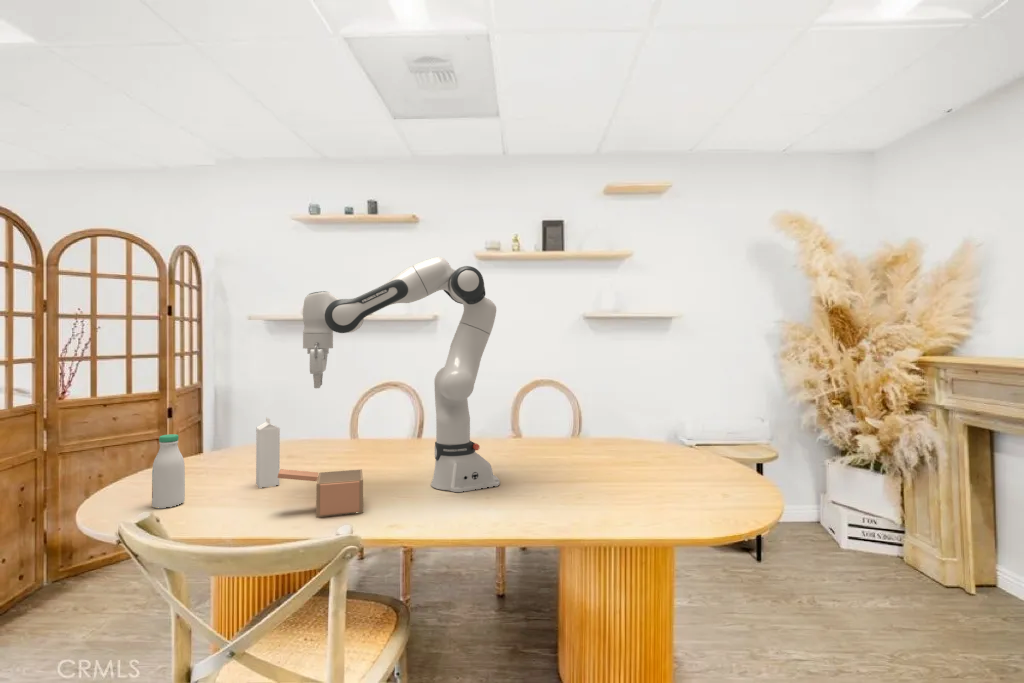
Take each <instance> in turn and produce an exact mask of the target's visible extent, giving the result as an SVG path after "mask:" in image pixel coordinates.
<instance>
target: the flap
mask: <svg viewBox="0 0 1024 683" xmlns="http://www.w3.org/2000/svg"><path fill="white" fill-rule="evenodd" d="M319 473H320V472H319V471H305V470H298V469H297V470H293V469H284V468H283V469H282V468H280V471H279V473H278V478H280V479H283V480H284V479H285V480H286V479H287V480H295V481H296V480H298V481H308V482H309V481H310V482H317V479H318V475H319Z"/></svg>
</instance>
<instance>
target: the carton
mask: <svg viewBox="0 0 1024 683" xmlns="http://www.w3.org/2000/svg"><path fill="white" fill-rule="evenodd" d="M363 476H364V475H363V469H361V468H360V469H347V470H335V471H322V472H319V473H318V478H317V481H316V486H315V490H316V491H315V492H316V496H315V497H316V498H315V500H316V501H315V506H316V508H315V510H316V513H315V514H316V516H315V517H316V518H324V517H325V518H326V517H332V516H333V517H334V516H335V517H336V516H343V515H342V514H345V515H349V514H348V513H355V514H357V513H356V512H363V513H364V477H363Z"/></svg>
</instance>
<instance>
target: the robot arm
mask: <svg viewBox="0 0 1024 683" xmlns="http://www.w3.org/2000/svg"><path fill="white" fill-rule="evenodd" d="M438 291H443V292H444V293H446V295H447V296H449V298H450V299H451V300H452V301H454V302H455V303H456V304H460V305H463V312H462V315H461V318H460V320H459V323H458V326H457V328H456V330H455V333H454V335H453V338H452V341H451V343H450V346H449V351H448V355H447V357H446V360H445V364H444V366H443V367H441V368H440V369H439V370H438V371H437V373H436V374H435V376H434V380H433V382H434V383H433V384H434V385H433V386H434V402H435V403H434V404H435V418H436V420H435V422H436V424H435V426H436V428H435V429H436V432H435V433H436V439H435V442H434V459H435V465H434V471H433V476H432V480H431V484H430V485H431V487H432V488H434V489H437V490H442V491H449V492H450V491H451V492H455V493H464V492H469V491H476V490H482V489H481V488H483V489H488V488H487V487H489V488H493V486H495V487H499V486H498V485H500V483H501V482H500V479H499V477H498V476H496V475H494V473H493V468H492V465H491V463H490V462H489V461H488V460H486V459H485V458H484V457H482V455H480V454H478V452H476V451H479V450H480V448H481V447H480V445H479V443H476V442H474V441H472V440H471V417H470V411H469V402H468V400H469V399H468V398H469V397H470V396H471V395H472V393H473V392H474V388H475V383H476V380H477V377H478V374H479V373H478V372H479V368H480V365H481V361H482V357H483V354H484V352H485V349H486V347H487V344H488V341H489V338H490V336H491V334H492V331H493V327H494V324H495V321H496V320H495V319H496V315H497V306H496V304H495V303H494V302H493V301H492V300H491V299H489V298H487V297H486V288H485V281H484V277H483V274H482V272H480V271H479V269H477V268H476V267H473V266H470V265H464V266H461V267H459V268H457V269H454V268H452V267H451V265H450V263H449V262H448V260H446V259H445V258H444V257H441V256H436V257H435V256H434V257H432V258H428V259H426V260H421V261H420V262H417V263H415V264H413V265H411V266H409V267H407V268H404V269H403V270H402V271H400V272H399V273H398V274H396V275H395V276H393V277H392V278H391V279H389V280H388V281H387V282H385V283H384V284H382V285H380V286H378V287H376V288H375V289H372V290H370V291H367V292H366V293H364V294H362V295H359V296H357V297H354V298H353V297H352V298H339V297H337V296H335V295H334V294H332V293H331V292H330V291H326V290H325V291H324V290H323V291H313V292H311V293H308V294H306V296H305V298H304V302H303V307H302V321H303V325H304V326H303V331H302V349H306V350H307V354H309V374H312V378H313V387H314V389H321V386H322V385H323V377H324V376H323V375H324V372H325V371H326V369H327V363H328V355H329V354H330V351H329V350H330V349H333V348H334V332H335V333H339V334H347V333H353V332H356V331H358V330H359V329H360V327H362V325H363V323H364V319H365V318H366V317H368V316H369V315H372V314H374V313H376V312H378V311H381V310H382V309H384V308H387V307H389V306H391V305H395V304H410V303H414V302H417V301H419V300H422V299H424V298H427V297H429V296H430V295H432V294H435V293H436V292H438ZM475 489H476V490H475ZM463 491H464V492H463Z"/></svg>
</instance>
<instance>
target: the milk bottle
mask: <svg viewBox="0 0 1024 683" xmlns="http://www.w3.org/2000/svg"><path fill="white" fill-rule="evenodd" d="M179 437H180V436H179V434H175V433H173V434H171V433H170V434H163V435H160V436H159V437H158V442H159V450H158V452H157V454H156V456H155V457H154V460H153V463H152V473H151V474H152V477H151V478H152V479H151V506H152V508H154V507H159V508H158V509H167V508H166V507H170V508H173V507H172V506H175V507H177V506H176V505H178V506H180V505H179V504H181V503H183V502H184V503H185V501H186V500H185V499H186V497H185V496H186V495H185V494H186V488H185V486H186V483H185V482H186V480H185V478H186V472H185V471H186V470H185V467H186V466H185V459H184V457H183V455H182V453H181V451H180V448H179V446H178V443H179ZM184 503H183V504H184ZM181 505H182V504H181Z"/></svg>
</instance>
